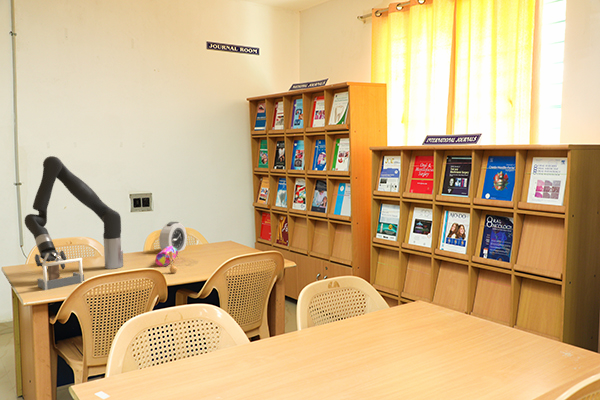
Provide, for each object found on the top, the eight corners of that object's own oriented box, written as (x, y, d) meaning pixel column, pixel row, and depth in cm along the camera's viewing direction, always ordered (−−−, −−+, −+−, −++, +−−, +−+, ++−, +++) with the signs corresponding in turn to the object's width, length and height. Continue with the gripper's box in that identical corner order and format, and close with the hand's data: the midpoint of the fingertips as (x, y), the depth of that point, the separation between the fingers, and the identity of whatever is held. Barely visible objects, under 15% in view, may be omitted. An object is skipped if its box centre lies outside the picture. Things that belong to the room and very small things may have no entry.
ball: (64, 285, 250) (62, 277, 251) (66, 283, 247) (64, 275, 248) (56, 287, 247) (54, 279, 248) (58, 285, 244) (56, 277, 245)
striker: (56, 280, 257) (55, 261, 256) (59, 282, 254) (58, 262, 253) (48, 282, 254) (47, 263, 253) (51, 283, 251) (50, 264, 250)
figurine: (167, 274, 267) (166, 252, 266) (163, 272, 271) (162, 251, 270) (182, 272, 272) (181, 250, 271) (177, 270, 277) (176, 249, 276)
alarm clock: (169, 254, 322) (168, 224, 320) (159, 253, 325) (158, 223, 323) (187, 248, 342) (186, 220, 340) (178, 247, 344) (177, 219, 343)
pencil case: (171, 266, 286) (170, 251, 286) (154, 267, 286) (154, 251, 285) (178, 259, 308) (178, 244, 307) (163, 259, 308) (162, 245, 307)
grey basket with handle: (76, 279, 259) (75, 255, 258) (84, 282, 253) (83, 257, 252) (36, 286, 245) (35, 261, 244) (43, 290, 239) (42, 264, 237)
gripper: (32, 242, 252) (42, 268, 245) (61, 238, 263) (71, 263, 256) (29, 251, 256) (38, 276, 249) (57, 247, 267) (67, 271, 260)
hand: (55, 269), depth 253 cm, fingers open, 8 cm apart
